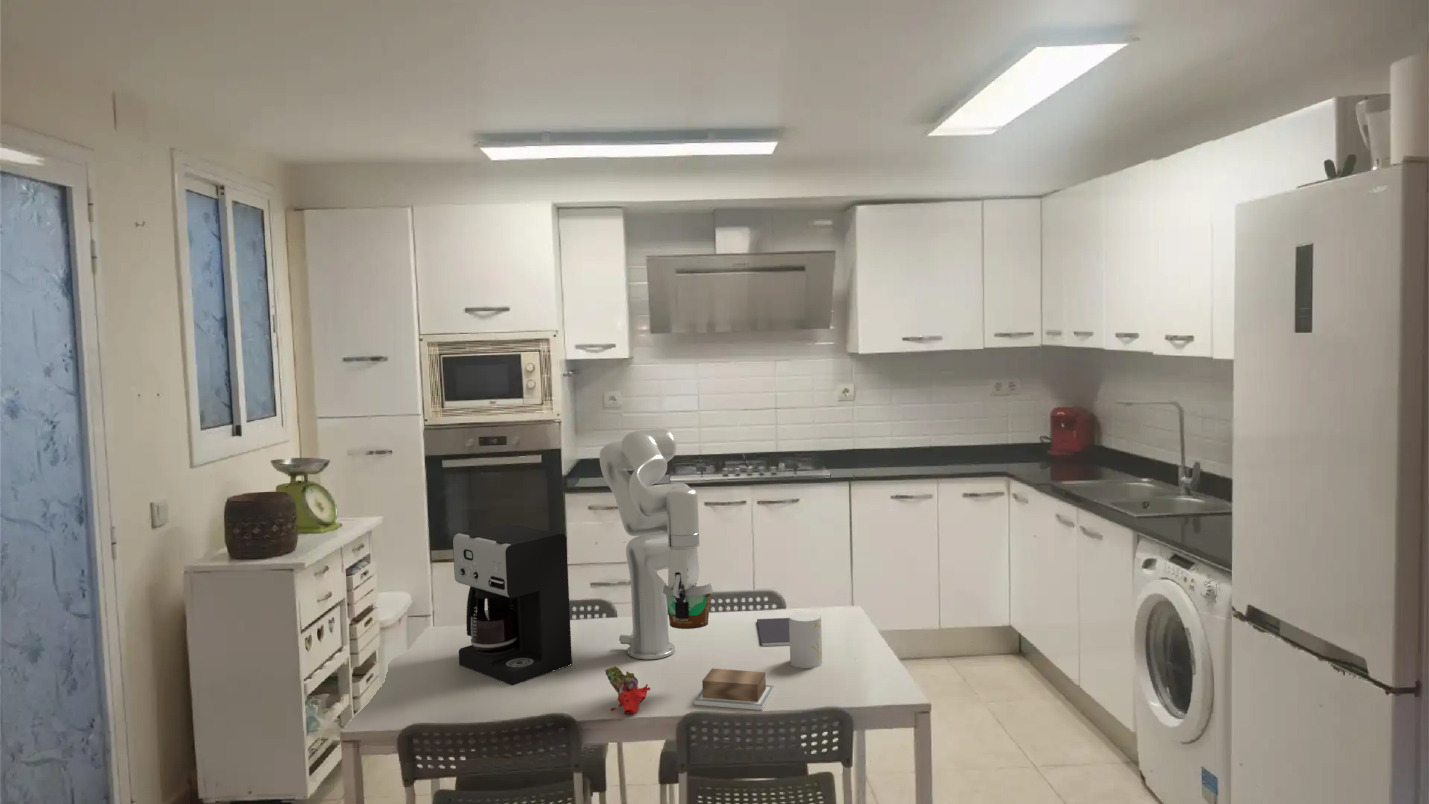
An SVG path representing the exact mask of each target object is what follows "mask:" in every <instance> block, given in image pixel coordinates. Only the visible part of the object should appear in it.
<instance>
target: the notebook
mask: <svg viewBox="0 0 1429 804" xmlns="http://www.w3.org/2000/svg"><path fill="white" fill-rule="evenodd" d="M756 624H757V628H758V634H759V638H760V639H759V640H760V645H761V647H769V646H770V647H772V646H790V634H789V617H778V618H757V619H756Z"/></svg>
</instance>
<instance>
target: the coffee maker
mask: <svg viewBox="0 0 1429 804" xmlns="http://www.w3.org/2000/svg"><path fill="white" fill-rule="evenodd" d="M567 545H568V544H567V536H566V535H565V534H564V533H560V532H556V531H550V530H545V529H539V528H534V527H529V526H525V525H520V524H515V523H513V524H512V523H501V524H498V525H492V526H490V527H489V526H488V527H483V528H478V529H475V530H474V529H473V530H467V531H463V532H462V531H461V532H458V533H456V534H455V535H454V536H453V538H452V549H453V550H452V551H453V570H454V580H455V581H456V582H457V583H458V584H461V585H465V586H469V590H468V595H467V602H466V616H465V617H466V620H465V621H466V623H465V624H466V636H468V637H471V639H470V643H471V644H470V645H467V646H463V647H461V648H460V649H459V650H458V662H459V663H458V664H459V666H462V667H464V668H466V669H469V670H471V671H474V672H477V673H480V674H483V675H484V676H486V677H487V676H488V677H490V678H492V679H495V680H498V681H500V682H502V683H505V684H508V685H511V686H515V685H518V684H521V683H525V682H526V681H529V680H530V681H531V680H533V679H535V678H539V677H541V676H543V675H547V674H550V673H552V671H553V670H556V671H558V670H560V669H559V668H561V669H563V668H562V667H564V668H566V666H567V667H569V666H568V665H570V664H572V665H573V657H572V656H573V655H572V653H573V652H572V636H571V635H572V633H571V611H570V589H569V569H568V568H569V567H568V546H567ZM486 601H487V602H486ZM486 603H487V604H486ZM486 605H487V609H486V607H485V606H486ZM570 666H571V665H570ZM553 672H554V671H553ZM546 673H547V674H546Z"/></svg>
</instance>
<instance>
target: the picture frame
mask: <svg viewBox="0 0 1429 804" xmlns="http://www.w3.org/2000/svg"><path fill="white" fill-rule="evenodd" d="M774 691H775V685H771V684H770V685H769V684H766V689H765V691H764V693H763V694H762V696H761V698H760V699H759V701H758V702H753V701H740V700H728V699H715V698H703V688H702V689H701V690H700V691H699V693H698V694H697V696H696V697H695V698H694V699H693V705H695V706H707V707H716V708H717V707H718V708H731V709H743V710H744V709H745V710H757V711H763V710H764V708H765V707H766V705H767V703H768V701H769V700H770V698H771V697H772V695H773V694H774Z"/></svg>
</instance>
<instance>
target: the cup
mask: <svg viewBox="0 0 1429 804" xmlns="http://www.w3.org/2000/svg"><path fill="white" fill-rule="evenodd" d="M788 618H789V634H790V645H789V663H790V665H791V666H793V667H795V668H799V669H800V668H801V669H811V668H817V667H820V666H822V664H823V641H822V640H823V638H822V637H823V636H822V615H821V614H819V613H818V612H814V611H798V612H793V613H791V614H789V615H788Z"/></svg>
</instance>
